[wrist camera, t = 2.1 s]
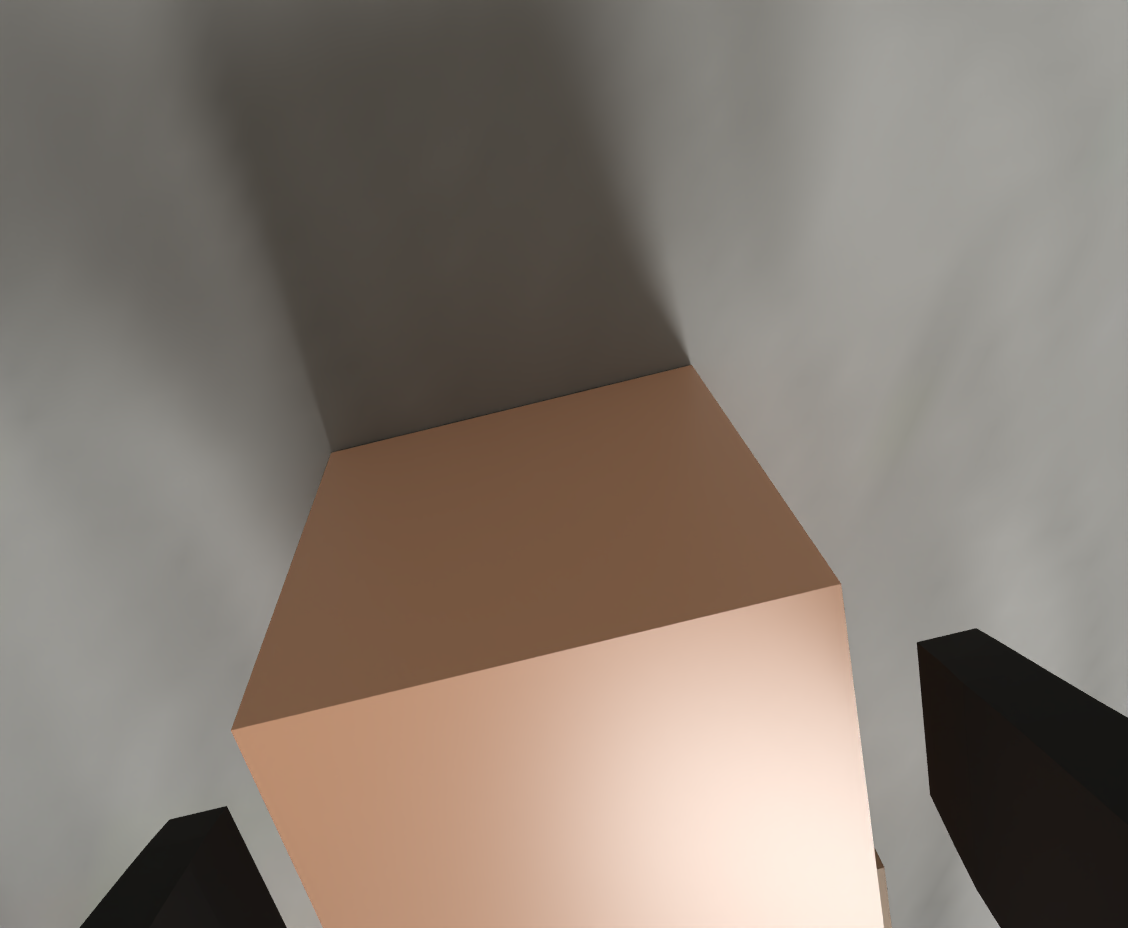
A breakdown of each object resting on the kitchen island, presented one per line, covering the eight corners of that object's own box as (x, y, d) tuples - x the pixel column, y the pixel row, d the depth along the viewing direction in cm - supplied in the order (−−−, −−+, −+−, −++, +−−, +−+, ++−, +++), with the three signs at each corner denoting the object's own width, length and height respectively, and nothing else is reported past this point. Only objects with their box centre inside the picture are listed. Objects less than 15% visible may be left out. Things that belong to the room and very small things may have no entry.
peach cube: (433, 738, 16) (410, 1113, 10) (331, 452, 13) (230, 731, 8) (745, 663, 15) (892, 1001, 10) (692, 364, 13) (841, 584, 8)
